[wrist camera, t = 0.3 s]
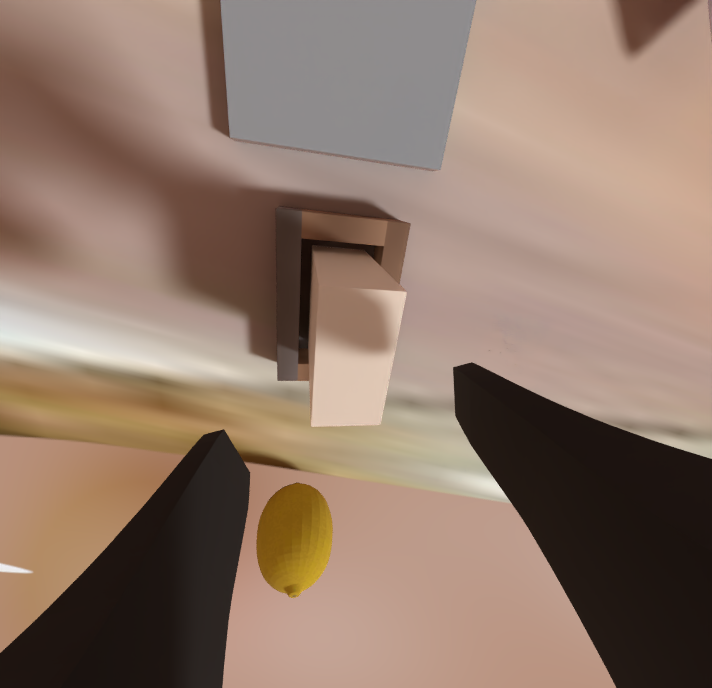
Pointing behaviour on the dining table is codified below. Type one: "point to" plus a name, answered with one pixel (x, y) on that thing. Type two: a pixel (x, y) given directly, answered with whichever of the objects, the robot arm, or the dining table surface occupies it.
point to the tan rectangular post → (350, 336)
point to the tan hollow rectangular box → (289, 232)
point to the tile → (346, 75)
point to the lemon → (294, 538)
